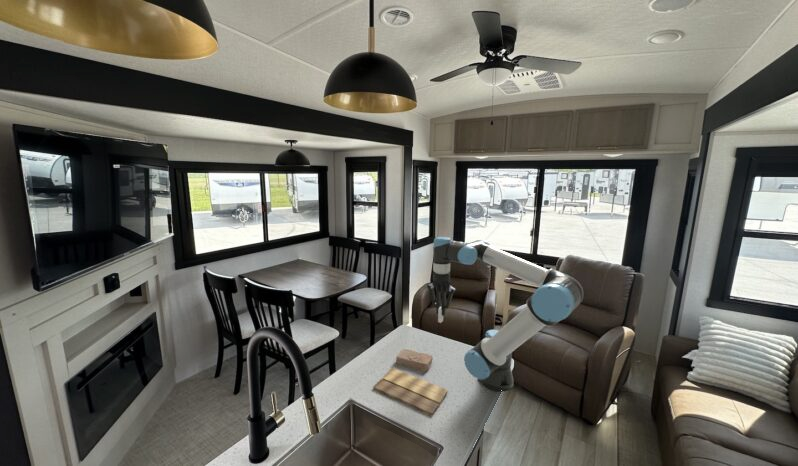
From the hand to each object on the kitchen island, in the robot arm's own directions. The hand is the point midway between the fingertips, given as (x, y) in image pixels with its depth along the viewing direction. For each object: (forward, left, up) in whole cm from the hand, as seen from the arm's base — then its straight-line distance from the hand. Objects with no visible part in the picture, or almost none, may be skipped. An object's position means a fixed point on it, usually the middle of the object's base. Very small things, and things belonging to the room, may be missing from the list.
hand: (440, 321), depth 142 cm
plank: (+4, +16, -25) cm, 30 cm away
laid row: (+4, +24, -25) cm, 35 cm away
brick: (+12, +1, -26) cm, 29 cm away
